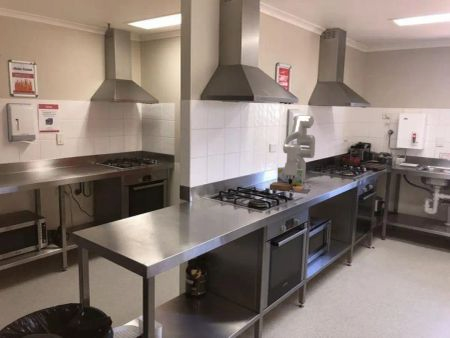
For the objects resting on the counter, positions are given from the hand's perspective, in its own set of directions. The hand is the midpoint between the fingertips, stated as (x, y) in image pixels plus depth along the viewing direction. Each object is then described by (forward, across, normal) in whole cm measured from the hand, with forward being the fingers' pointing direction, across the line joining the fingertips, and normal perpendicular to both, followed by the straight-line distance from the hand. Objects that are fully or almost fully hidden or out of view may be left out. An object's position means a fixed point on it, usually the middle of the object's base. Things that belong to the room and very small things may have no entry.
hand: (290, 183), depth 294 cm
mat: (+5, -8, 0) cm, 10 cm away
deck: (+5, +7, 0) cm, 9 cm away
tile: (+2, -7, 0) cm, 7 cm away
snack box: (+5, +4, -18) cm, 19 cm away
